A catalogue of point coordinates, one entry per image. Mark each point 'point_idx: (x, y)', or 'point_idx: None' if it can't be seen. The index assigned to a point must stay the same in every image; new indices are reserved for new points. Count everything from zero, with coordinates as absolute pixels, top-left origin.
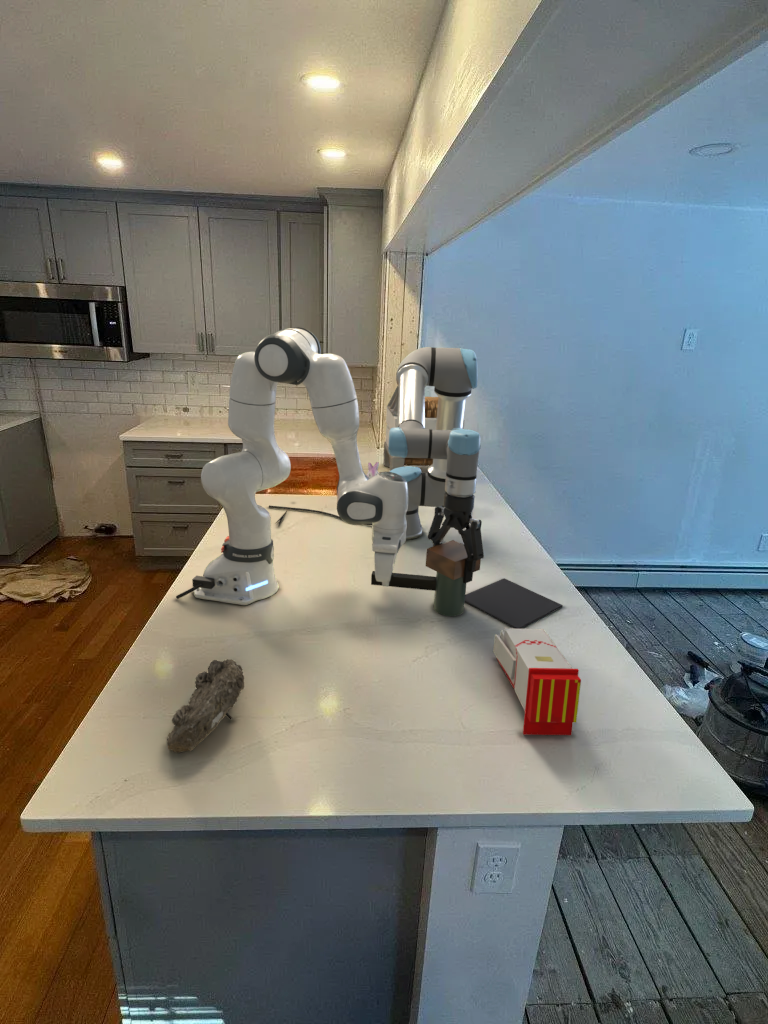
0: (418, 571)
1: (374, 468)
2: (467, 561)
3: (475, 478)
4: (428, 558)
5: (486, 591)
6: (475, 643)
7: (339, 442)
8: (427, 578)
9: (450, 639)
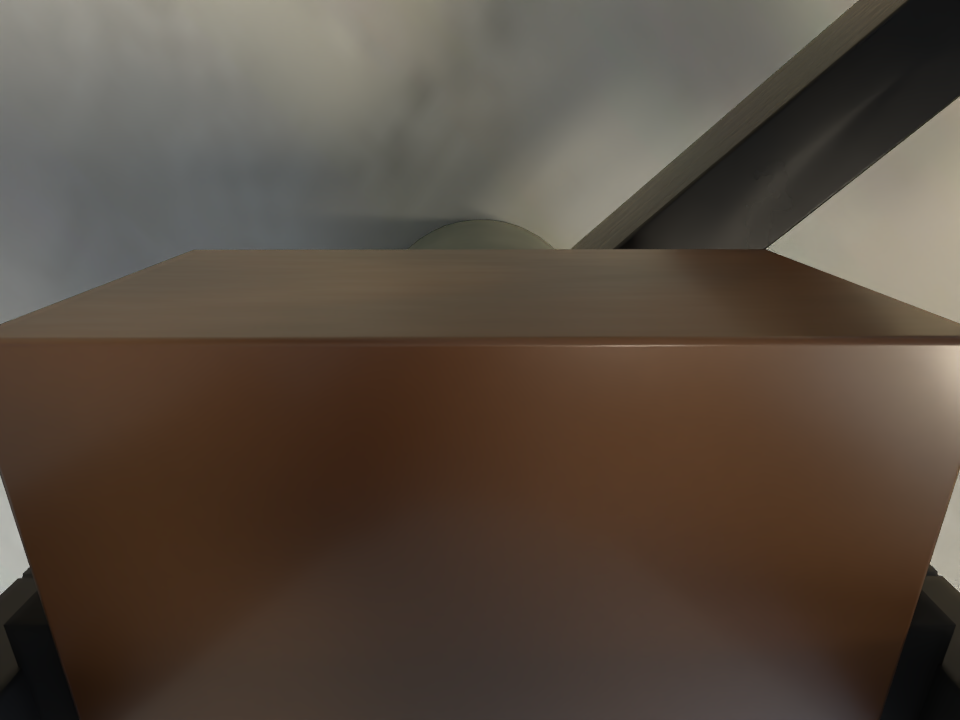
0: (956, 521)
1: None
2: (23, 604)
3: None
4: (785, 282)
5: None
6: (40, 130)
7: None
8: (670, 246)
9: (159, 14)
